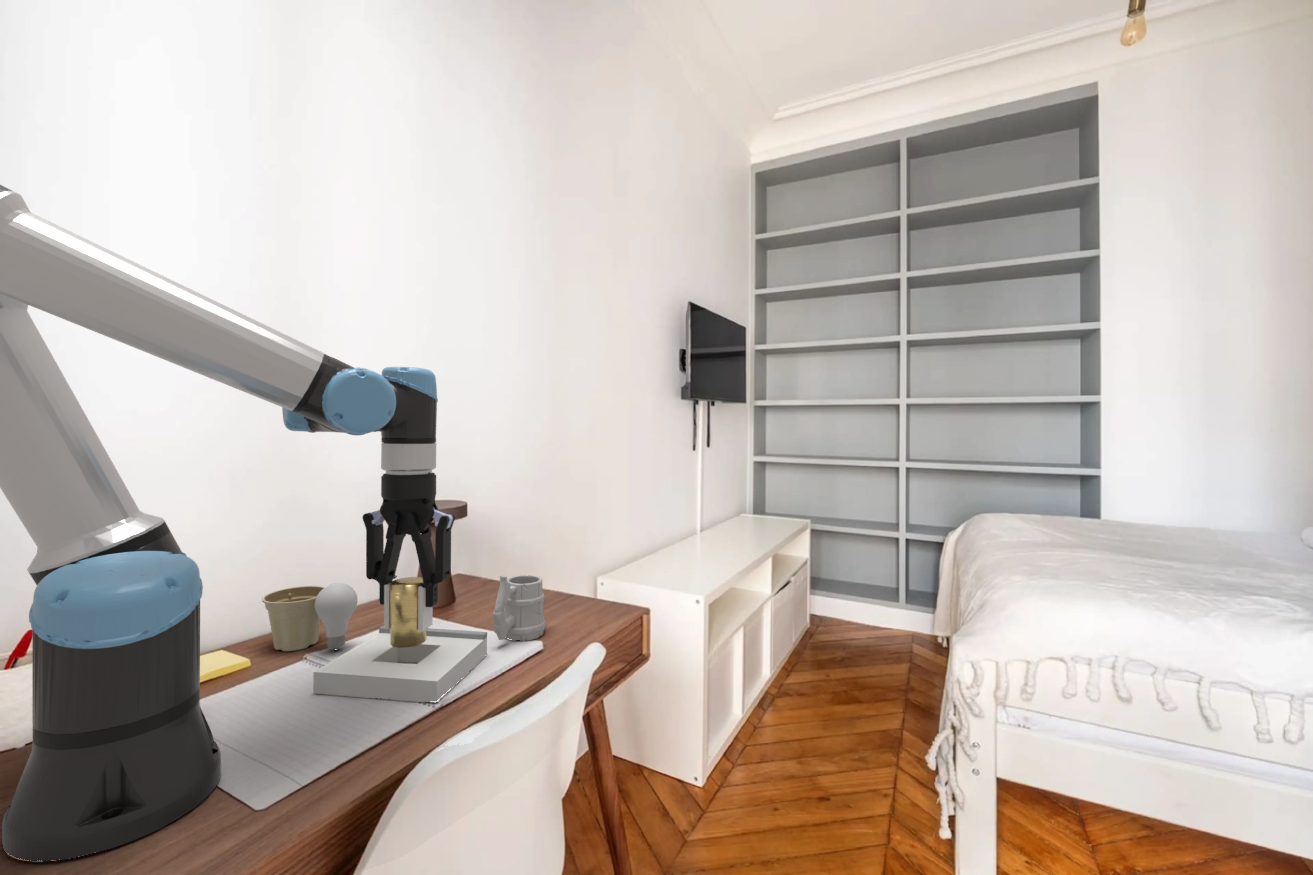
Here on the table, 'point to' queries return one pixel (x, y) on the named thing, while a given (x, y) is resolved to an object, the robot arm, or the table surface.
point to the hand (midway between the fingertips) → (408, 626)
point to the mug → (519, 608)
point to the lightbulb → (336, 612)
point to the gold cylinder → (405, 613)
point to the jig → (403, 666)
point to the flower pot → (293, 617)
